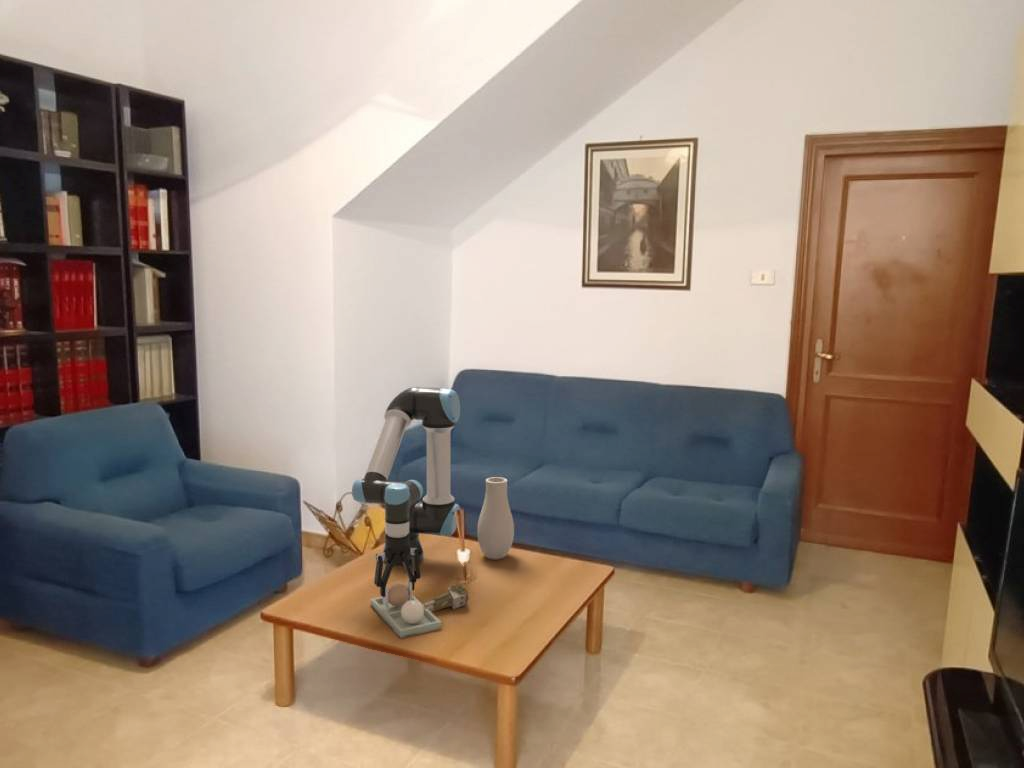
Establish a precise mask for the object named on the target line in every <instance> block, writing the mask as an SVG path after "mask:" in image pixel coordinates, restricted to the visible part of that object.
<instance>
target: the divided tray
mask: <svg viewBox="0 0 1024 768" xmlns="http://www.w3.org/2000/svg"><path fill="white" fill-rule="evenodd" d="M412 600H417V601H419V602H420V603H421V604H422V605H423V607H424V615H423V618H422V619H421V620H420V621H419V622H418V623H415V624H409V623H407V622H405V621H404V620H403V618H402V616H401V609H402V606H403V605H402V606H398V607H396V606H393V605H391V604H390V603H389V602H388V607H387V608H386V607H385V606H384V605H383V597H382V596H380V597H374V598H371V599H370V606H371V608H372V609H373V610H374V611H375V612H376V613H377V614H378V616H380V618H382V619H383V621H384V622H385V623H386V624H387V625H388V626H389V627H390V628H391V629H392V631H393V632H394V633H395V634H396V635H397V636H398V637H399V638H400V639H404V638H409V637H412V636H417V635H419V634H425V633H429V632H432V631H437V630H441V629H442V621H441V620H440V619H439V618H438V617H437V616H436V615H435V614H434V613H432V611H429V610H428V609H427V607H425V606H424V603H422V602H421V601H420V600H419V599H418V598H416V596H415V595H413V594H412ZM407 601H408V600H407Z"/></svg>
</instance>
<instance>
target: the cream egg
mask: <svg viewBox="0 0 1024 768" xmlns="http://www.w3.org/2000/svg"><path fill="white" fill-rule="evenodd" d="M419 601H420V600H419ZM419 601H417V600H409V601H407V602H406V603H404V605H403V606H402V609H401V616H402V618H403V620H404V621H405V622H407V623H409V624H415V623H418V622H419V621H420V620H421V619H422V618H423V615H424V607H423V605H424V604H423V603H422V602H421V601H420V602H421V603H422V604H423V605H422V604H421V603H420V602H419Z"/></svg>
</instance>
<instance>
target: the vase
mask: <svg viewBox="0 0 1024 768" xmlns="http://www.w3.org/2000/svg"><path fill="white" fill-rule="evenodd" d="M484 494H485V496H484V500H483V503H482V508H481V511H480V513H479V517H478V521H477V528H476V530H477V540H478V544H479V547H480V550H481V551H482V553H483V555H484V556H485V557H486V558H487V559H489V560H495V561H496V560H502V559H503V558H505V557H506V556H507V555H508V553H509V551H511V550H510V549H511V548H512V546H513V543H514V542H513V541H514V537H515V524H514V520H513V519H514V518H513V514H512V512H511V511H512V510H511V507H510V504H509V503H510V502H509V499H508V479H507V478H505V477H500V476H499V477H498V476H492V477H488V478H486V479H485V493H484Z"/></svg>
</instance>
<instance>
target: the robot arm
mask: <svg viewBox="0 0 1024 768" xmlns="http://www.w3.org/2000/svg"><path fill="white" fill-rule="evenodd" d="M460 417H461V402H460V398H459V395H458V393H457V391H455V390H453V389H451V388H450V389H449V388H444V387H421V386H414V387H413V386H412V387H409V388H406V389H404V390H402V391H401V392H400V393H398V394H397V395H396V396H395V397H394V398H393V399H392V400H391V402H390V403H389V405H388V407H387V408H386V410H385V412H384V420H385V421H384V424H383V427H382V429H381V431H380V434H379V437H378V440H377V443H376V445H375V447H374V448H375V449H374V451H373V453H372V456H371V459H370V461H369V463H368V467H367V468H366V469H367V470H366V473H365V474H364V477H363V478H356V479H355V481H353V483H352V488H351V496H352V498H353V500H354V501H355V502H358V503H363V504H376V505H384V514H385V515H384V533H385V535H384V540H385V541H384V543H385V544H384V547H383V550H382V553H376V554H375V559H376V563H375V564H376V565H375V573H374V580H373V583H374V585H375V586H376V587H377V588H379V592H380V593H379V595H380V597H383V605H384V606H385V607H386V608H387V607H388V589H389V587H388V585H387V584H388V581H389V579H390V575H391V573H392V570H393V568H394V566H403V568H404V570H405V572H406V574H407V576H408V579H406V588H407V589H408V592H409V598H408V601H409V600H412V595H413V592H414V591H415V589H416V587H415V585H416V584H415V583H416V582H417V580H418V579H421V569H420V562H421V561H423V559H424V549H423V546H422V544H421V541H420V537H419V534H422V535H423V534H424V535H432V536H440V537H442V536H443V537H444V536H447V537H448V536H452V535H453V534H454V533H455V531H456V529H457V526H458V524H456V517H455V510H460V511H461V508H460V505H459V504H458V503H455V499H456V498H455V497H454V496H453V495H452V493H451V434H452V433H451V430H452V429H453V428H454V427H456V426H455V424H456V423H457V422H458V421H459V420H460ZM413 420H416V421H417V420H419V421H421V422H422V423H421V424H422V428H423V429H424V430H425V431H426V494H425V496H423V494H424V488H423V486H422V484H421V483H420V482H419V481H417V480H416V479H409V480H405V481H403V482H401V481H388V479H389V476H390V473H391V471H392V468H393V466H394V463H395V462H394V461H395V460H396V457H397V454H398V451H399V449H400V446H401V443H402V440H403V437H404V434H405V431H406V429H407V427H409V426H410V425H411V424H412V421H413ZM421 498H422V501H420V500H421ZM384 563H386V564H385V566H384ZM411 565H412V568H411ZM383 569H384V570H383Z"/></svg>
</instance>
